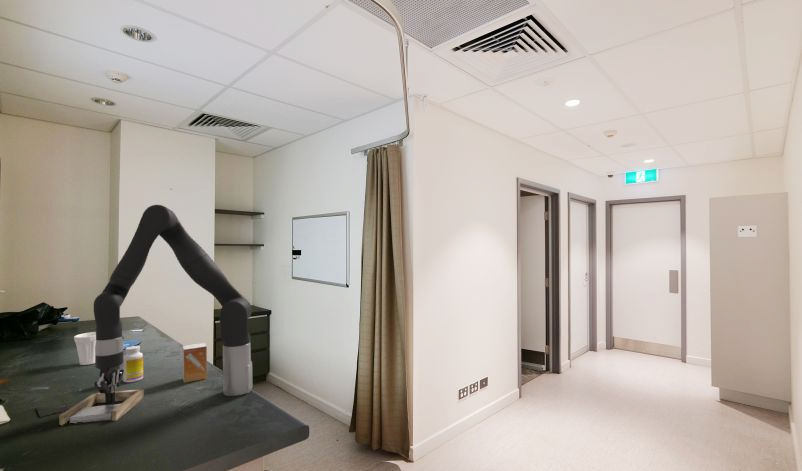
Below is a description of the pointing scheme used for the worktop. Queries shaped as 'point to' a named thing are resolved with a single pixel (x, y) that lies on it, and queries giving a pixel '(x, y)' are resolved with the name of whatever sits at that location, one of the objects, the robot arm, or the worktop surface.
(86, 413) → the cover plate
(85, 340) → the cup
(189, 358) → the small box
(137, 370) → the supplement bottle
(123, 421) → the worktop surface
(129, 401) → the wooden bracket
